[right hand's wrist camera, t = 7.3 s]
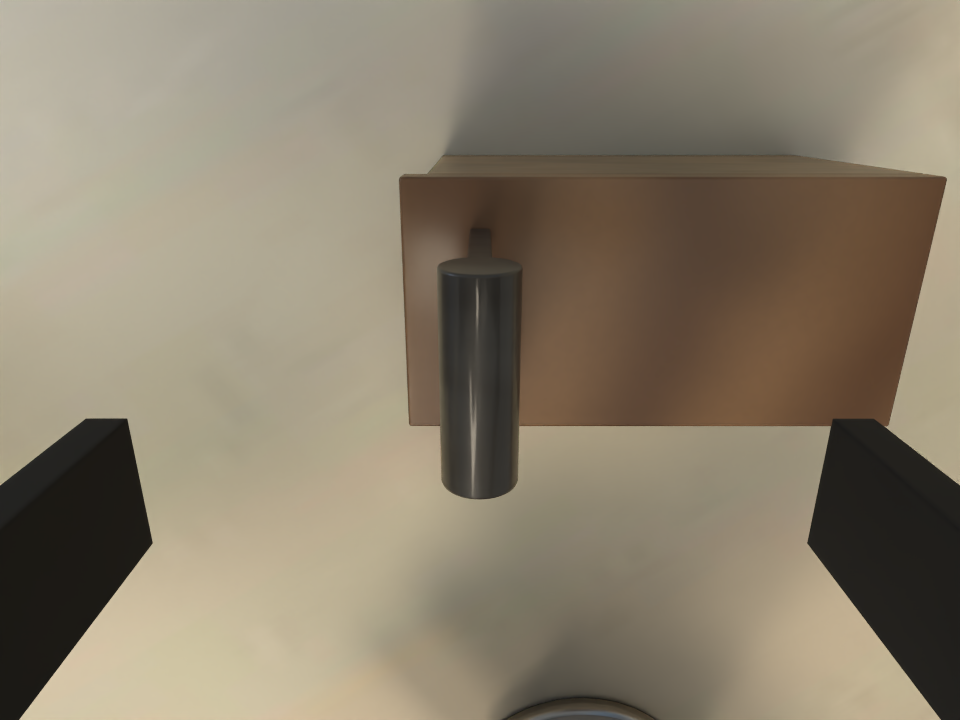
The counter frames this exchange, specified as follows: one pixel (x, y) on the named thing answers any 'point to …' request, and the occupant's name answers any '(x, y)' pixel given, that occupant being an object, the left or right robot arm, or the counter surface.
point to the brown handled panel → (653, 303)
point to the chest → (648, 165)
